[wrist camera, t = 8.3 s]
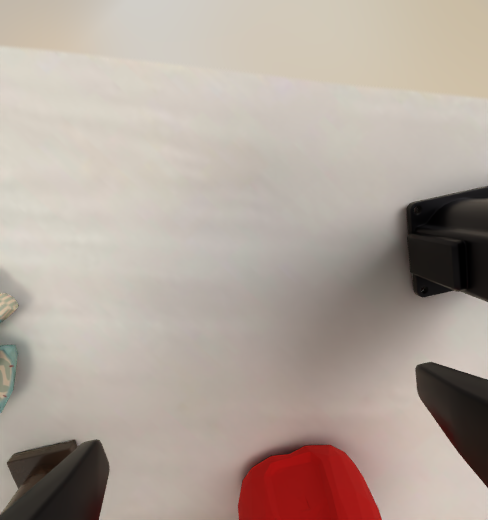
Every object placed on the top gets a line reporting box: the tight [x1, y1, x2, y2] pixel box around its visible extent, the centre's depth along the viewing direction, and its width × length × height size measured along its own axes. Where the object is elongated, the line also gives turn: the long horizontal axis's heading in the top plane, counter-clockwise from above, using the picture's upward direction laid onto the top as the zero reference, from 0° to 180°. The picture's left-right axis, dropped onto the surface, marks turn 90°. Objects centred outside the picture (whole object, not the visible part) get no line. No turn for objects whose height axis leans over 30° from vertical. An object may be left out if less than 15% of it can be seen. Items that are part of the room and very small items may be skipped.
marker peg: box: [1, 440, 77, 514], centre depth 19 cm, size 4×4×5 cm
